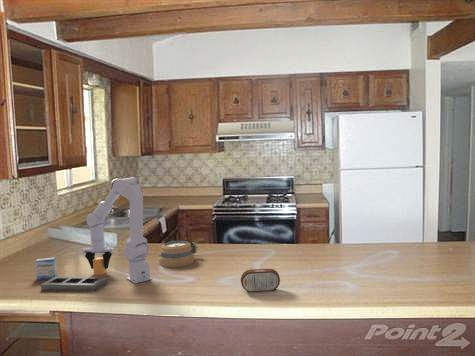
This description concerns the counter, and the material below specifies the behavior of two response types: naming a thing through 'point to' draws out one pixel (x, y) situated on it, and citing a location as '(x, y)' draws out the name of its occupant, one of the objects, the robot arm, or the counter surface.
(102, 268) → the square block
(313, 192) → the counter surface
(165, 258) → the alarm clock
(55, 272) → the medicine box
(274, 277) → the brown portable speaker
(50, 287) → the gray board with holes
